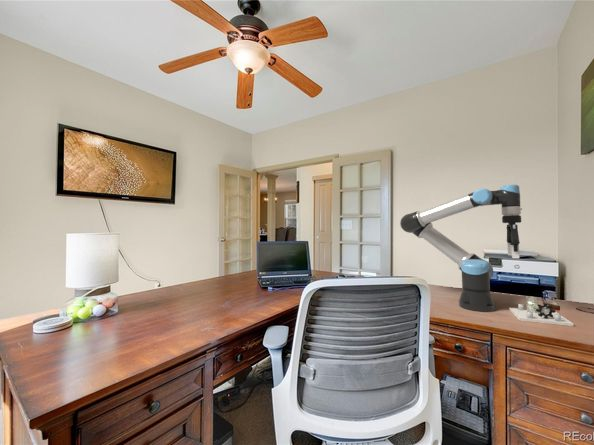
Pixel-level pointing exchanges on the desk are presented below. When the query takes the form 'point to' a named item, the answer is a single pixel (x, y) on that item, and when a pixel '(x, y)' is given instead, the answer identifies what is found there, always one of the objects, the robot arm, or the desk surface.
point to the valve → (538, 307)
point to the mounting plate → (534, 317)
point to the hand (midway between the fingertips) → (513, 256)
